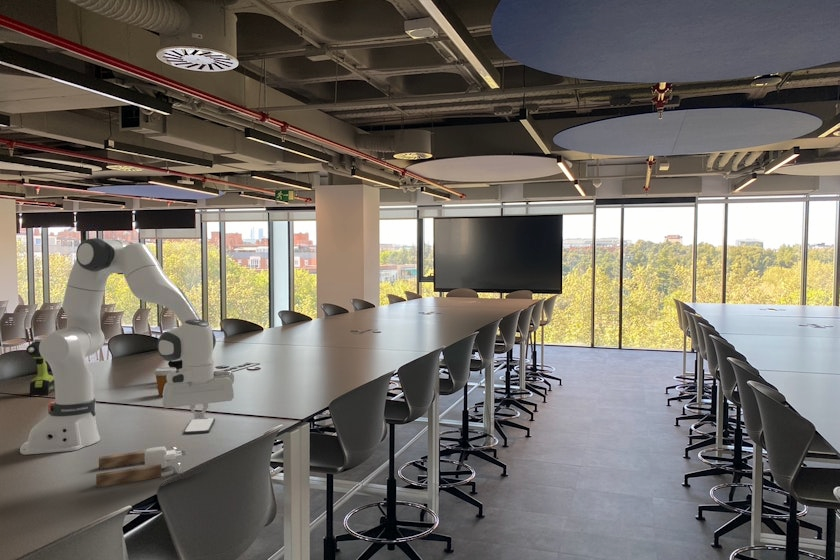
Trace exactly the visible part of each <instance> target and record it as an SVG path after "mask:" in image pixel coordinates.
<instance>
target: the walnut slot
mask: <svg viewBox="0 0 840 560" xmlns="http://www.w3.org/2000/svg"><path fill="white" fill-rule="evenodd" d="M140 462H145V450H140V451H139V450H138V451H133V452H125V453H119V454H112V455H105V456H99V457H98V470H102V469H103V468H104V469H111V468H117V466H118V467H123V465H125V466H130V465H129V464H131V465H135V464H134V463H138V464H141V463H140ZM95 476H96V477H95V478H96V480H95V483H96V484H95V485H96V488H101V487H102V488H103V487H107V486H114V485H120V484H126V483H132V482H139V481H144V480H151V479H159V478H162V469H161V464H159V465H152V466H146V467H145V466H140V467H134V468H128V469H120V470H113V471H107V472H102V473H101V472H100V473H96V475H95Z"/></svg>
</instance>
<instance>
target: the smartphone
mask: <svg viewBox="0 0 840 560" xmlns="http://www.w3.org/2000/svg"><path fill="white" fill-rule="evenodd" d="M215 422H216V418H215V417H207V418H206V417H205V418H203V419H195V420H194V418H192V419H190V421H189V422H188V425H186V427H185V429H184V431H183V435H185V434H187V435H200V434H201V435H202V434H209V433H210V432H211V431H212V429H213V426H214V425H215Z"/></svg>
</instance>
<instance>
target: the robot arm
mask: <svg viewBox="0 0 840 560" xmlns="http://www.w3.org/2000/svg"><path fill="white" fill-rule="evenodd" d="M75 257H76V259H75V261H74V263H73V265H72V267H71V269H70V270H71V271H70V273H69V276H68V280H67V283H66V287H65V288H66V289H65V292H64V298H63V301H62V309H63V311H64V313H65V315H66V327H65V328H61V329H57V330H55V331H52V332H51V333H49V334H47V335H46V336H44V337H43V338H42V339H41V342H40V345H39V352H40V355H41V356H42V358H43V359H44V360H46V361H47V364H48V365H49V367H50V369H51V373H52V376H54V395H55V401H50V402H49V403H48V405H47V407H48V409H47V410H48V415H47V416H45V417H44V418H43V419H42V420H40V421H39V422H38V423H36V424H35V425H34V426H33V427H32V428H31V430H30V432H29V435H28V437H27V438H28V439H27V441H26V442H24V443H22V444H21V446H20V448H19V453H20V454H21V455H25V456H26V455H37V454H50V453H59V452H60V453H61V452H71V451H72V452H73V451H77V450H79V449H81V448H85V447H88V446H91V445H93V444H96V443H98V442H100V441H101V436H100V434H99V430H98V426H97V421H96V420H97V419H96V413H97V401H96V398H95V388H94V387H95V385H94V384H95V381H94V376H93V374H92V373H91V372H90V371H89V369H88V367H87V364H86V359H85V358H87V357H90V356H92V355H94V354H96V353H97V352H98V351H100V349H102V348H103V347H104V344H105V339H106V338H105V334H104V332H103V331H102V327H101V325H102V324H101V309H102V305H103V301H104V300H103V299H104V295H105V291H106V285H107V281H108V278H109V277H110V276H111V275H112V274H117V275H118V276H120V275H123V276H124V279H125V281H126V283H127V286H128V288H129V290H130V292H131V293H132V294H133V295H134V296H135V297H136V298H137V299H138V300H141V301H143V302H146V303H150V304H155V305H159V306H163V307H165V308H166V309H169V310H171V311H172V312H173V313H174V315H175V316H176V317H177V318H178V320H179V322H180V323H181V325H179V326H178V327H176V328H173V329H169V330H167V331H164V332H162V333H161V334H160V336H159V337H158V340H157V347H156V348H157V352H158V354H159V356H160V357H161V359H163V360H164V361H166V362H169V361H179V360H182V361H183V364H182V368H181V369H178V370H176V371H173V372H170V373H168V374H167V377H166V378H167V383H166V384H165V386H164V389H163V397H162V398H161V401H162V406H163V407H164V408H165V409H169V408H170V409H171V408H180V407H181V408H182V407H189V410H191V412H192V414H193V419H194V420H195V419H203V418H206V417H205V413H206V411H207V410H208V408H209V404H216V403H223V402H231V401H232V400H234V398H235V393H234V392H235V391H234V385H233V384H234V382H235V375H234V373H233V372H232V371H229V370H224V371H215V368H214V359H213V351H214V349H215V346H216V342H217V339H216V335H215V333H214V331H213V329H212V327H211V324H210V322H208V321H207V320H203V319H202V317H201V316H200V314H199V313H198V311H197V310H196V308H195V307H194V305H193V304H192V301H190V299H189V297H188V296H187V295H186V294H185V292H184V291H183V290H182V289H181V288H180V287H179V286H177V285H176V284H175V283H174V282H173V281H171V279H170V278H169V277H168V276H167V274H166V273H165V271H164V270H163V267H162V265H161V263H160V262H159V261H158V258H157V257H156V256H155V254H154V253H153V251H152V250H151V249H150V247H148V245H146V244H145V243H142V242H131V241H129V242H127V241H123V240H121V239H120V240H119V239H105V238H102V239H101V238H98V237H95V238H93V237H92V238H87V239H84V240H82V241H81V242H80V243H79V245H78V246H77V249H76V252H75ZM196 405H202V407H203V408H202V410H201V411H197V412H196V410H195V409H196Z"/></svg>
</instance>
